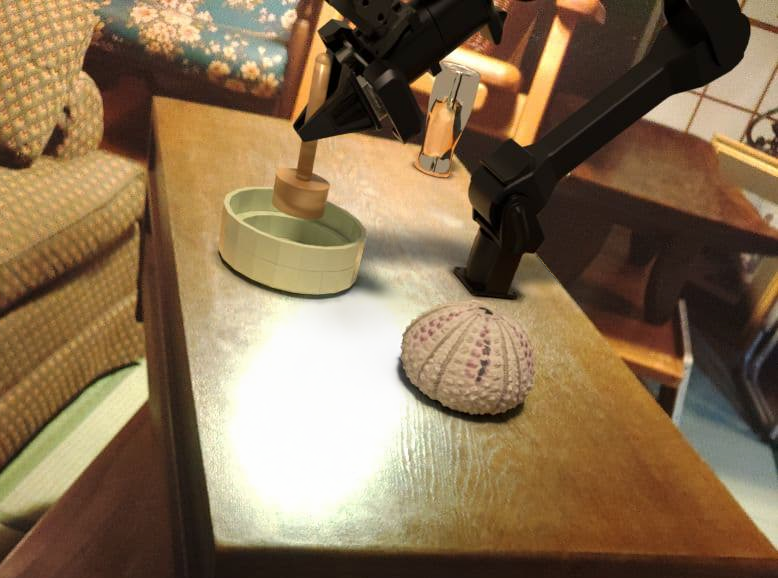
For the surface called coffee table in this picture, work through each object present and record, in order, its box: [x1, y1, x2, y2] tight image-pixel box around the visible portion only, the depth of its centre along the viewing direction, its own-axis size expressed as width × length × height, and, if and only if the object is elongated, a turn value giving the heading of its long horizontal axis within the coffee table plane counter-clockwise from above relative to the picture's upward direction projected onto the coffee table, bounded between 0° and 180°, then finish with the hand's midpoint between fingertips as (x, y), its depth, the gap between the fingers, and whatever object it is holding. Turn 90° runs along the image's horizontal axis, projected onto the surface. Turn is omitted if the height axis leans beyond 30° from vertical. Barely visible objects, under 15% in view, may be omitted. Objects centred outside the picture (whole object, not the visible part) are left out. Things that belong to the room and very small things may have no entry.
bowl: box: [217, 186, 367, 295], centre depth 80 cm, size 15×15×6 cm
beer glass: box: [414, 60, 482, 178], centre depth 118 cm, size 7×7×15 cm
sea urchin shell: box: [399, 299, 538, 416], centre depth 69 cm, size 13×14×8 cm
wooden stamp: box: [272, 52, 332, 219], centre depth 73 cm, size 6×6×14 cm
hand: (297, 134), depth 73 cm, fingers closed on wooden stamp
